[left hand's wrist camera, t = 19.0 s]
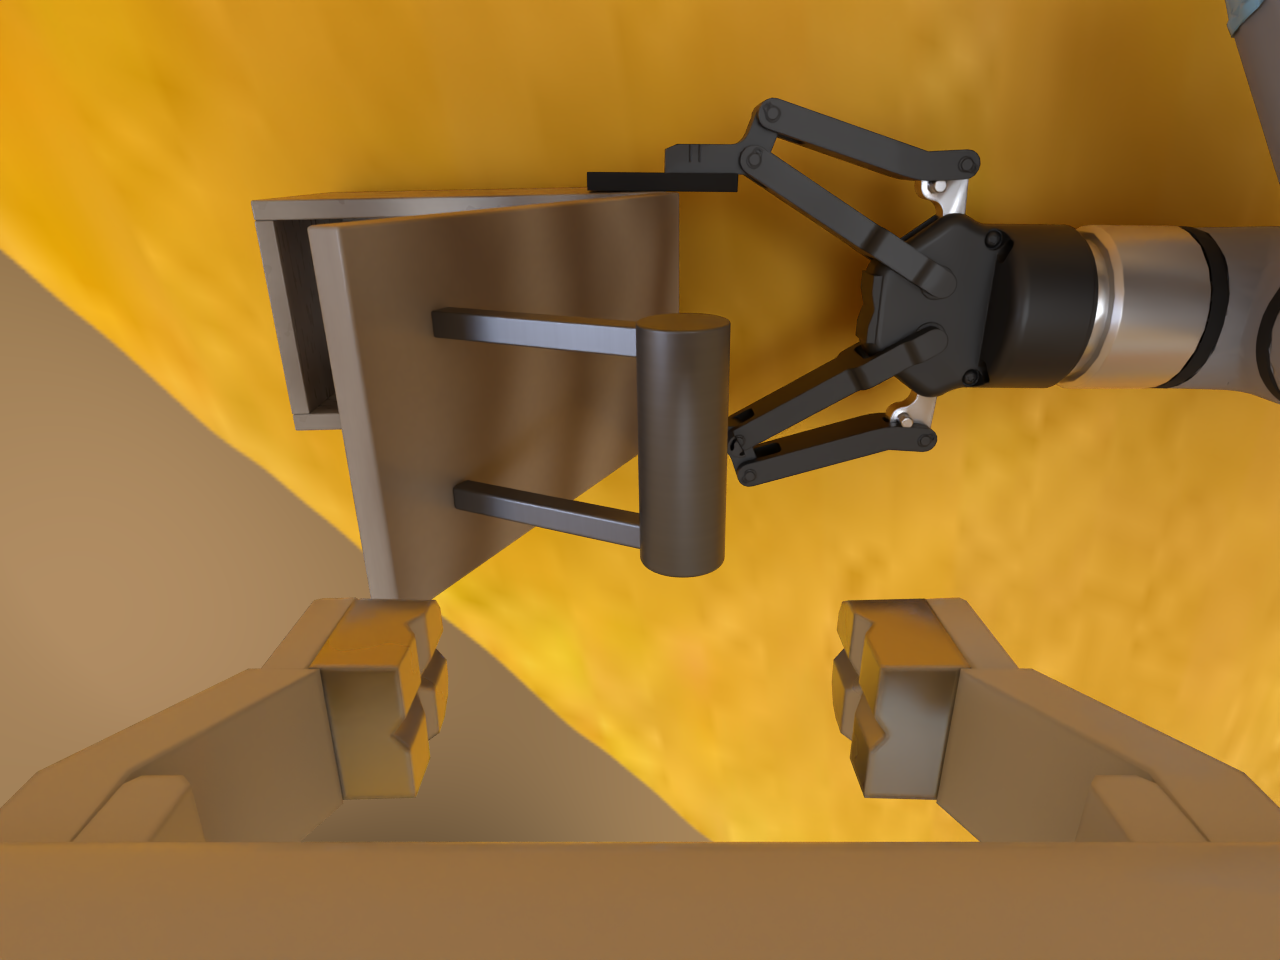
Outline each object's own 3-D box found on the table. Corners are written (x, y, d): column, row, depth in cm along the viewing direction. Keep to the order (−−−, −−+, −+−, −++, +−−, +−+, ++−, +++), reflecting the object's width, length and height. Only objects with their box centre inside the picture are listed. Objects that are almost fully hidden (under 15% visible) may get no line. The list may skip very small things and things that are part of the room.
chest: (357, 378, 45) (294, 430, 36) (327, 192, 41) (249, 200, 32) (658, 371, 45) (668, 421, 36) (656, 185, 41) (667, 191, 33)
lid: (371, 613, 21) (672, 705, 17) (304, 225, 17) (670, 234, 14) (659, 423, 36) (854, 450, 32) (657, 192, 32) (878, 192, 29)
